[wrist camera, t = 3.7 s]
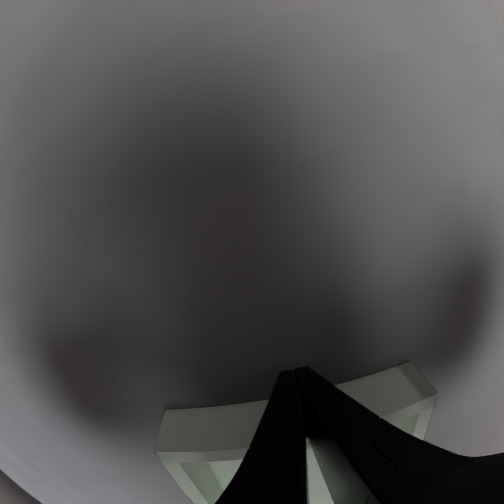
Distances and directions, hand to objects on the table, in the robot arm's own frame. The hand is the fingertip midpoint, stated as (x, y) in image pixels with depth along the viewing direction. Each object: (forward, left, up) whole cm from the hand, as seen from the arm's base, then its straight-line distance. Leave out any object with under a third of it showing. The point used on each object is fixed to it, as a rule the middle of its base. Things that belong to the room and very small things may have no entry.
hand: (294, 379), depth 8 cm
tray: (-7, 0, -1) cm, 7 cm away
